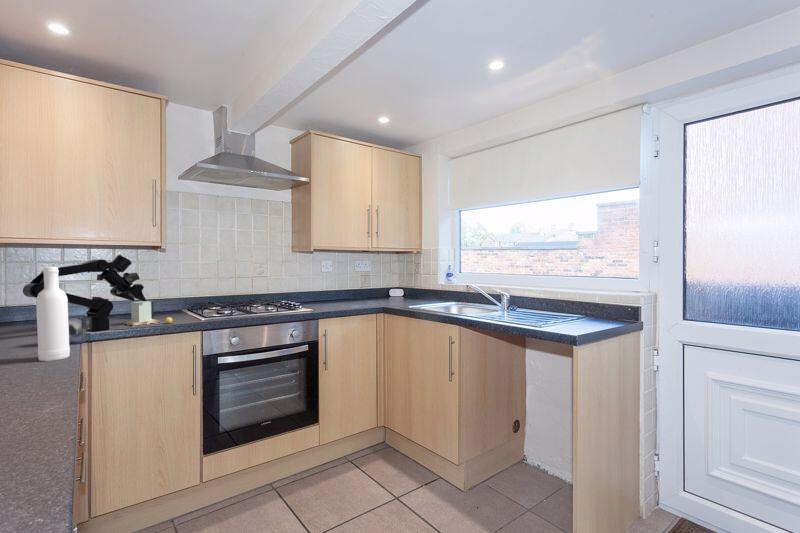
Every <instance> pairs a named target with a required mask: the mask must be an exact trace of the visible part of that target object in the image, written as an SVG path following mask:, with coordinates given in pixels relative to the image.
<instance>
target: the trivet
mask: <svg viewBox="0 0 800 533" xmlns="http://www.w3.org/2000/svg"><path fill="white" fill-rule="evenodd" d="M158 322H160V323H161V320H159V319H154V318H152V321H145V322H132V320H127V321H122V325H124V324H127V325H126V326H129V325H133V326H132V327H135V326H134V325H140V326H143V325H142V324H147V325H151V324H150V323H155V324H159V323H158Z"/></svg>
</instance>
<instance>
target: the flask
mask: <svg viewBox="0 0 800 533" xmlns="http://www.w3.org/2000/svg"><path fill="white" fill-rule="evenodd" d="M147 301H148V302H151V317H152V319H154V318H153V317H155V316H154V314H155V312H154V302H153V301H152V300H147Z"/></svg>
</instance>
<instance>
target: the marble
mask: <svg viewBox="0 0 800 533" xmlns="http://www.w3.org/2000/svg"><path fill="white" fill-rule="evenodd" d="M173 321H174V320H173V318H172V317H170V316H169V317H166V318H165V319H164V322H165V323H166V324H167V323H170V324H172V322H173Z"/></svg>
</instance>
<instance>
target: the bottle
mask: <svg viewBox="0 0 800 533" xmlns="http://www.w3.org/2000/svg"><path fill="white" fill-rule="evenodd" d="M42 271H43V273H44V289H43V290H42V291H41V292H40V293H39V294H38V296H37V298H35V304H36V308H35V310H36V330H37V331H36V332H37V357H38V360H39V361H40V362H52V361H59V360H64V359H67V358H69V357H70V355H71V347H70V345H69V324H68V316H69V305H68V304H69V303H68V299H67V296H66V294H65V293H66V292H65V291H64V290H63V289H61V288H60V282H59V281H60V279H59V276H58V273H59V270H58V266H44V267H43V270H42Z"/></svg>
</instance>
